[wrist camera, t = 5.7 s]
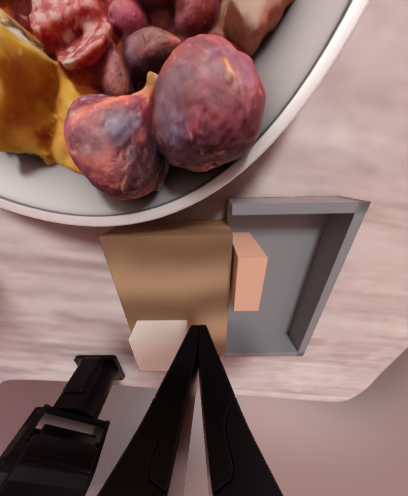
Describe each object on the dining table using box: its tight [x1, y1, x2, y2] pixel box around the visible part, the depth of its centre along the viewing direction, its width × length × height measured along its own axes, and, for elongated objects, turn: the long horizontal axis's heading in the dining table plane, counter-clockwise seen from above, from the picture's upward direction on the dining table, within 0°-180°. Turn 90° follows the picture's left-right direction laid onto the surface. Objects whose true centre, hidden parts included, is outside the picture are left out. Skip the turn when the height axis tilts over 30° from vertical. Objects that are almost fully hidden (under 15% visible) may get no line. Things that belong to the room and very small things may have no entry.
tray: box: [224, 196, 370, 357], centre depth 17 cm, size 19×10×3 cm, turn 1°
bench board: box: [98, 220, 233, 356], centre depth 17 cm, size 15×10×4 cm, turn 1°
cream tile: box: [129, 320, 188, 371], centre depth 16 cm, size 5×5×2 cm
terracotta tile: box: [229, 232, 268, 311], centre depth 14 cm, size 5×5×2 cm
